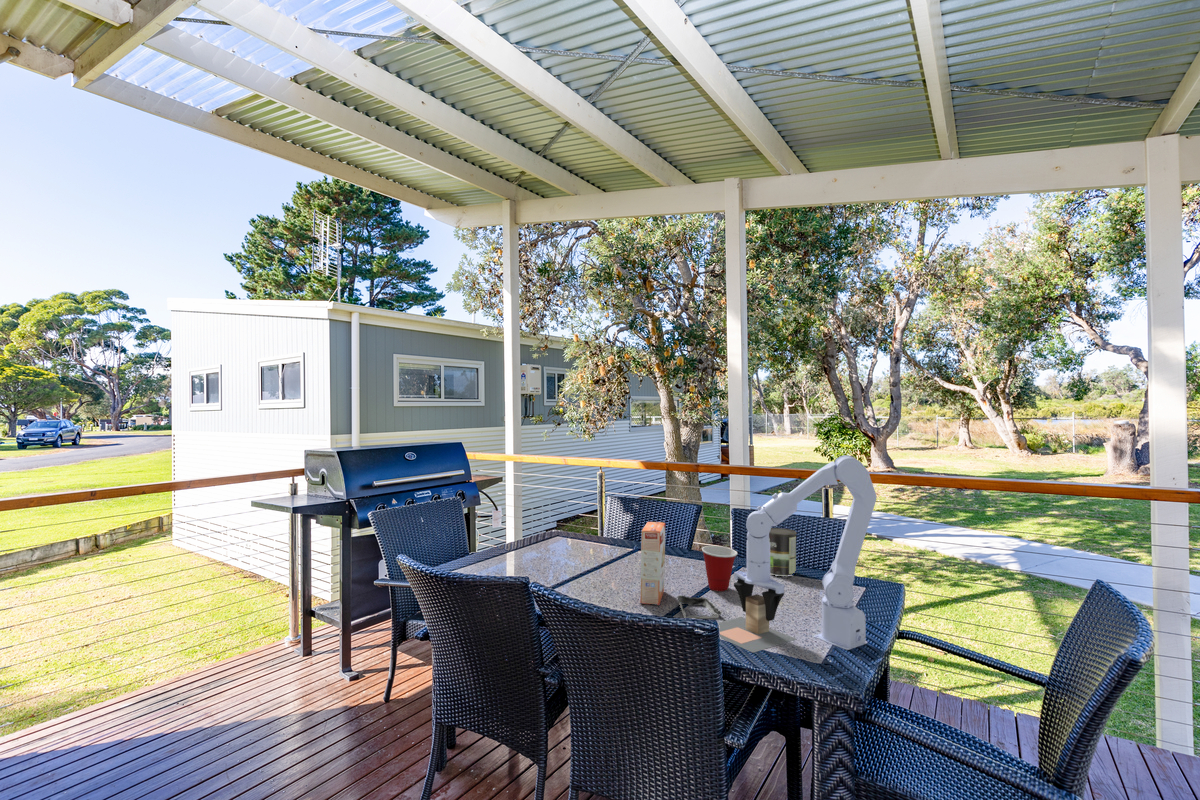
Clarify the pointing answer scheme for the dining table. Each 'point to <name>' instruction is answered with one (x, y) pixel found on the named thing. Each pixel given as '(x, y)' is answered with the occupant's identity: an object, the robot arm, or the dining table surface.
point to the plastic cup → (718, 566)
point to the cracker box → (652, 563)
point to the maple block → (756, 614)
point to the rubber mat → (750, 636)
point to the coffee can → (782, 551)
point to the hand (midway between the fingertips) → (758, 615)
